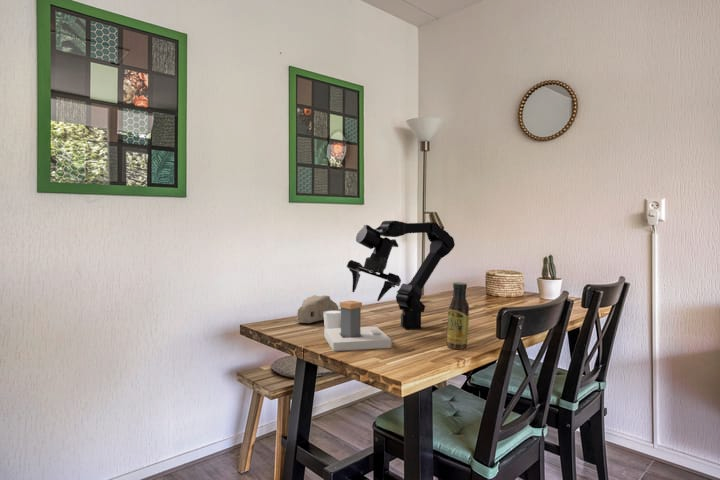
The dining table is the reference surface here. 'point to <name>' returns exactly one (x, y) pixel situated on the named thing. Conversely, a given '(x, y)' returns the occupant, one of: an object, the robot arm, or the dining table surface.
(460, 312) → the sauce bottle
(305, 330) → the dining table surface
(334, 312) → the white tapered cup
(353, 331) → the plug
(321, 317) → the decorative stone
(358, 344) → the socket plate
